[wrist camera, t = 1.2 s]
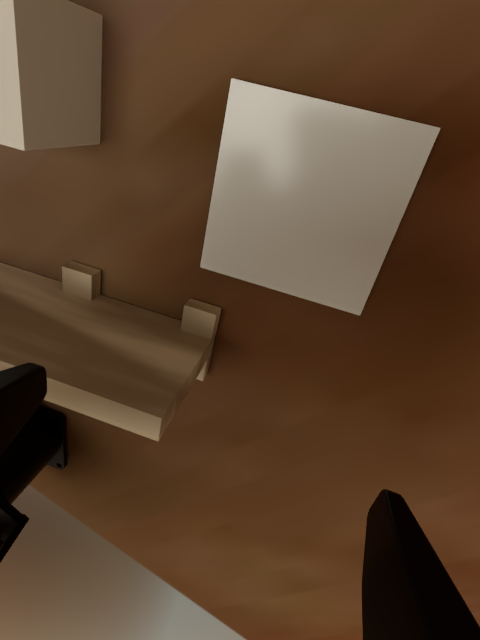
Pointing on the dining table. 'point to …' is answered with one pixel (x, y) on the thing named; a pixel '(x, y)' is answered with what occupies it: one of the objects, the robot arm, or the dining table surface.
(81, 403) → the oak screen
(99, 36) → the cream grey-paneled cube
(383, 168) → the cream square tile
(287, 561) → the dining table surface
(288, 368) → the dining table surface
